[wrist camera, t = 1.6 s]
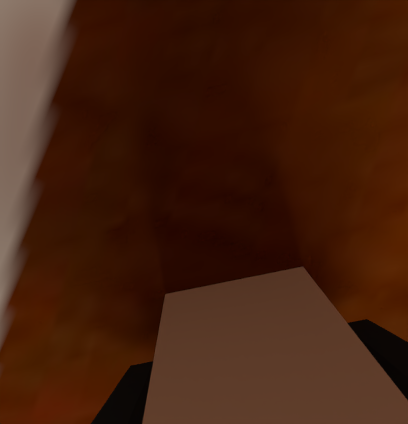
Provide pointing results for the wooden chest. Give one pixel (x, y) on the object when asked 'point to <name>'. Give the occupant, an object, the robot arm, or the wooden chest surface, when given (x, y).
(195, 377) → the block
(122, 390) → the robot arm
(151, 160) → the wooden chest surface
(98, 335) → the wooden chest surface
